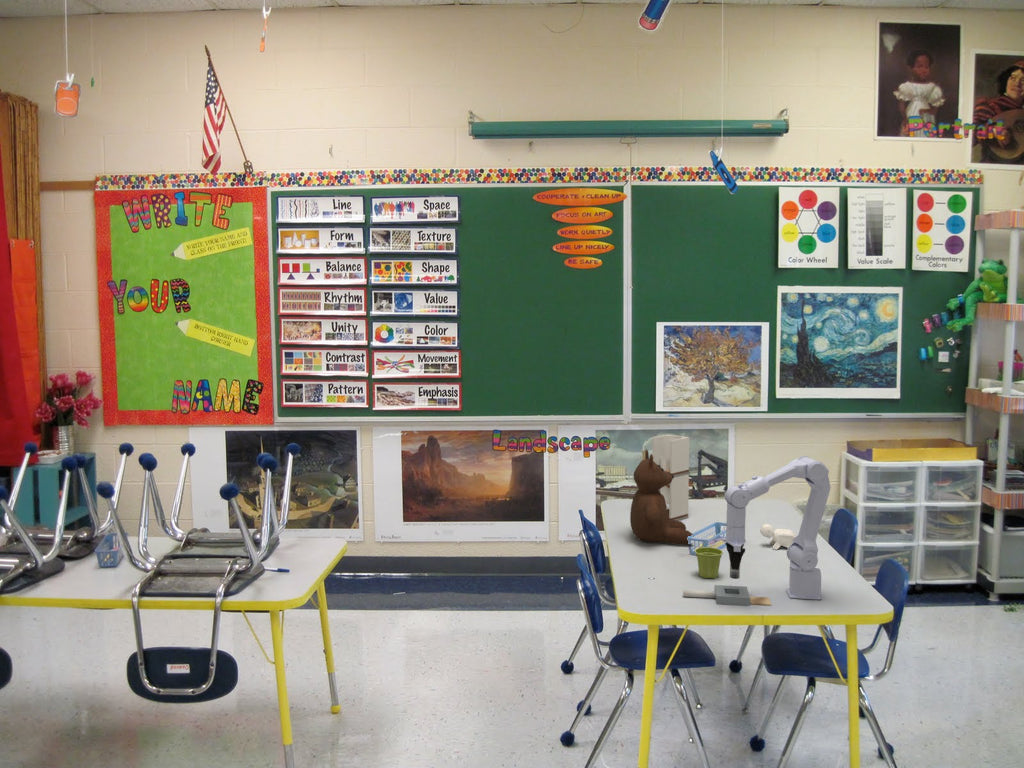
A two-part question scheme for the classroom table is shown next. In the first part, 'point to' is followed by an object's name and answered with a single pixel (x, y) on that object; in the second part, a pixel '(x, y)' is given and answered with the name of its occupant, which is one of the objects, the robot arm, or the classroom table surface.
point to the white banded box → (674, 472)
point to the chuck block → (723, 595)
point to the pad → (760, 601)
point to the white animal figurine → (778, 536)
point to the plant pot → (708, 561)
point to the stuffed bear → (654, 507)
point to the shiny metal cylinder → (734, 573)
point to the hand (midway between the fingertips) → (734, 567)
